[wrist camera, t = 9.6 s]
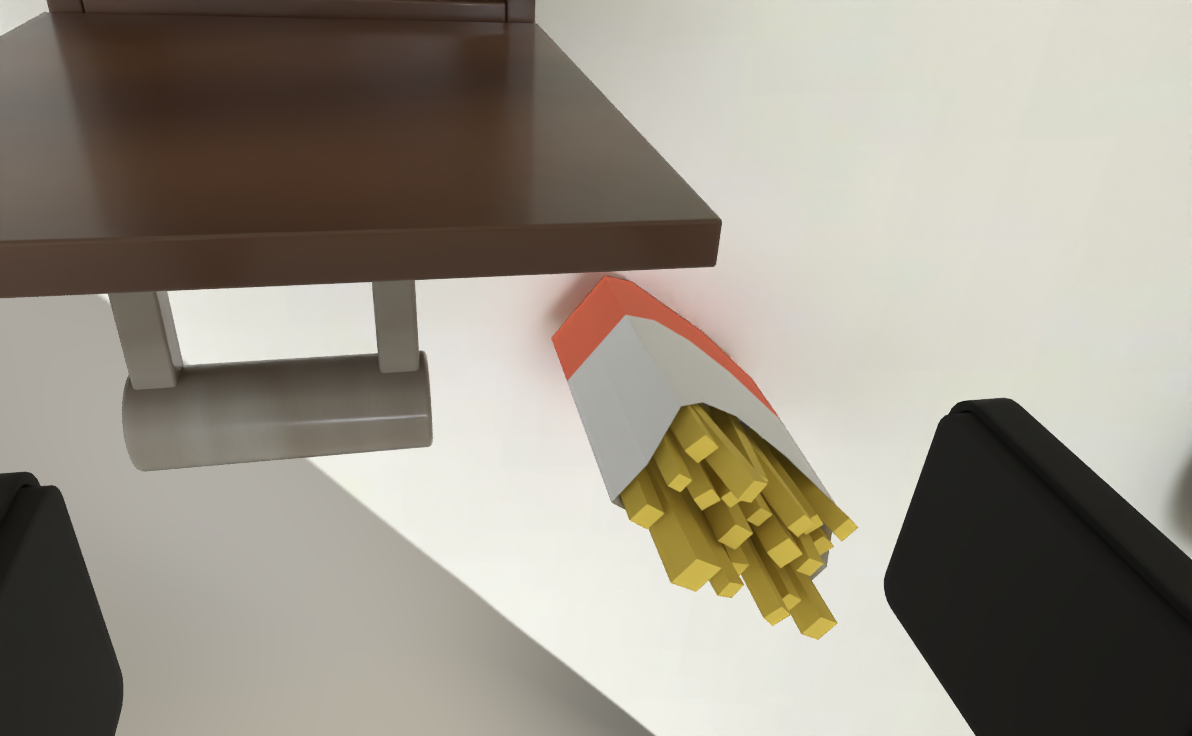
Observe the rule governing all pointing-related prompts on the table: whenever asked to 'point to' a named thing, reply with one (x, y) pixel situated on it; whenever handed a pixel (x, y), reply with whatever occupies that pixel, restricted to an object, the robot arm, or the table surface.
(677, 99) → the table surface
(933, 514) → the robot arm
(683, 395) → the french fries container
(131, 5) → the chest
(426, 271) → the lid
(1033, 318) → the table surface
